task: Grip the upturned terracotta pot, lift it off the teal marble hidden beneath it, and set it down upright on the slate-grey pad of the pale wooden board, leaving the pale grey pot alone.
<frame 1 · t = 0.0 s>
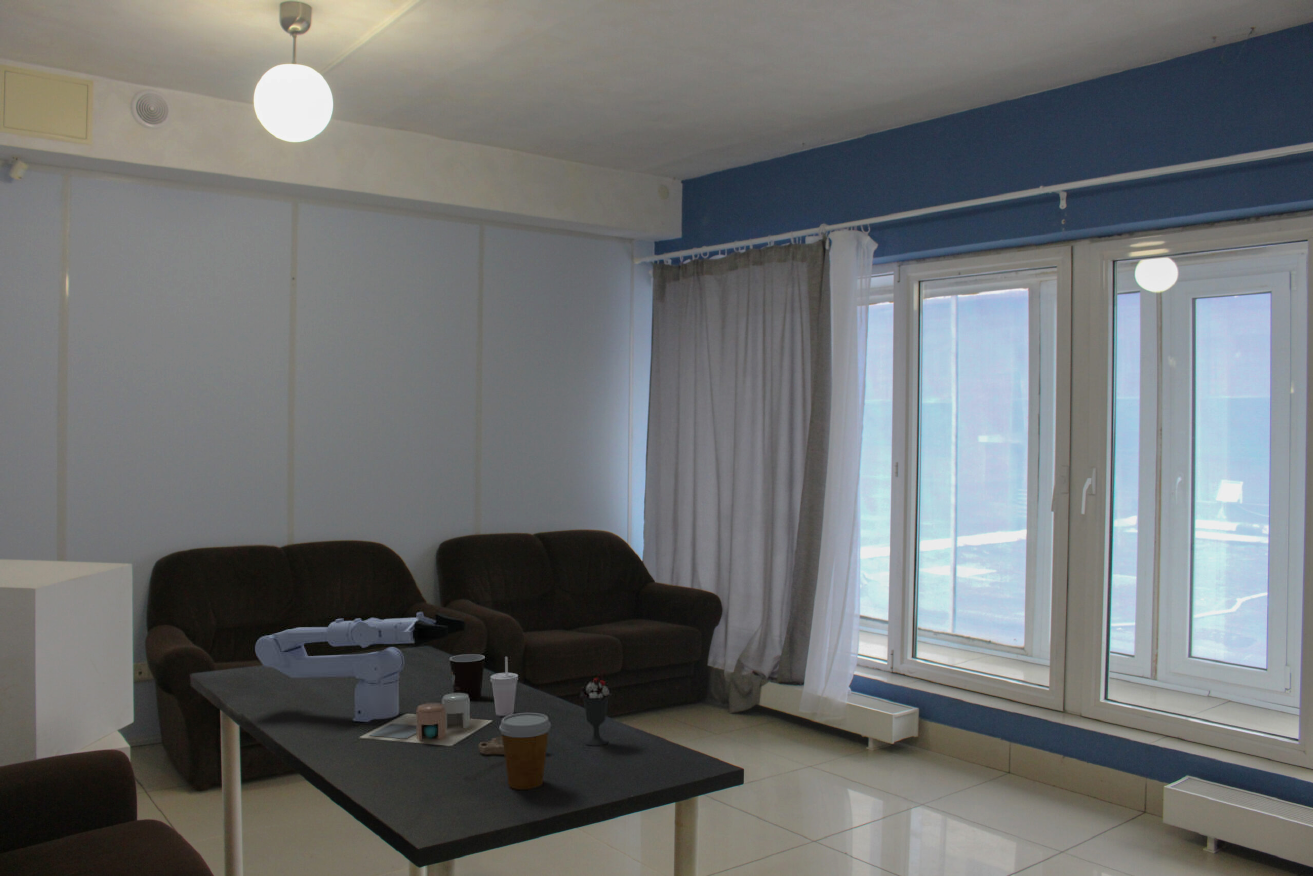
hand: (456, 628, 221), 22 cm above the table, tool horizontal, fingers open, 7 cm apart
marble: (431, 730, 208), point 2 cm above the table, touching board
smoothie: (504, 718, 226), on the table
disposable coffee cup: (525, 784, 182), on the table
grey pot: (456, 726, 216), point 1 cm above the table, touching board
board: (427, 733, 214), on the table
oil lamp: (511, 756, 199), on the table
terracotta pot: (431, 737, 208), point 1 cm above the table, touching board
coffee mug: (469, 697, 245), on the table
sundae: (596, 743, 207), on the table
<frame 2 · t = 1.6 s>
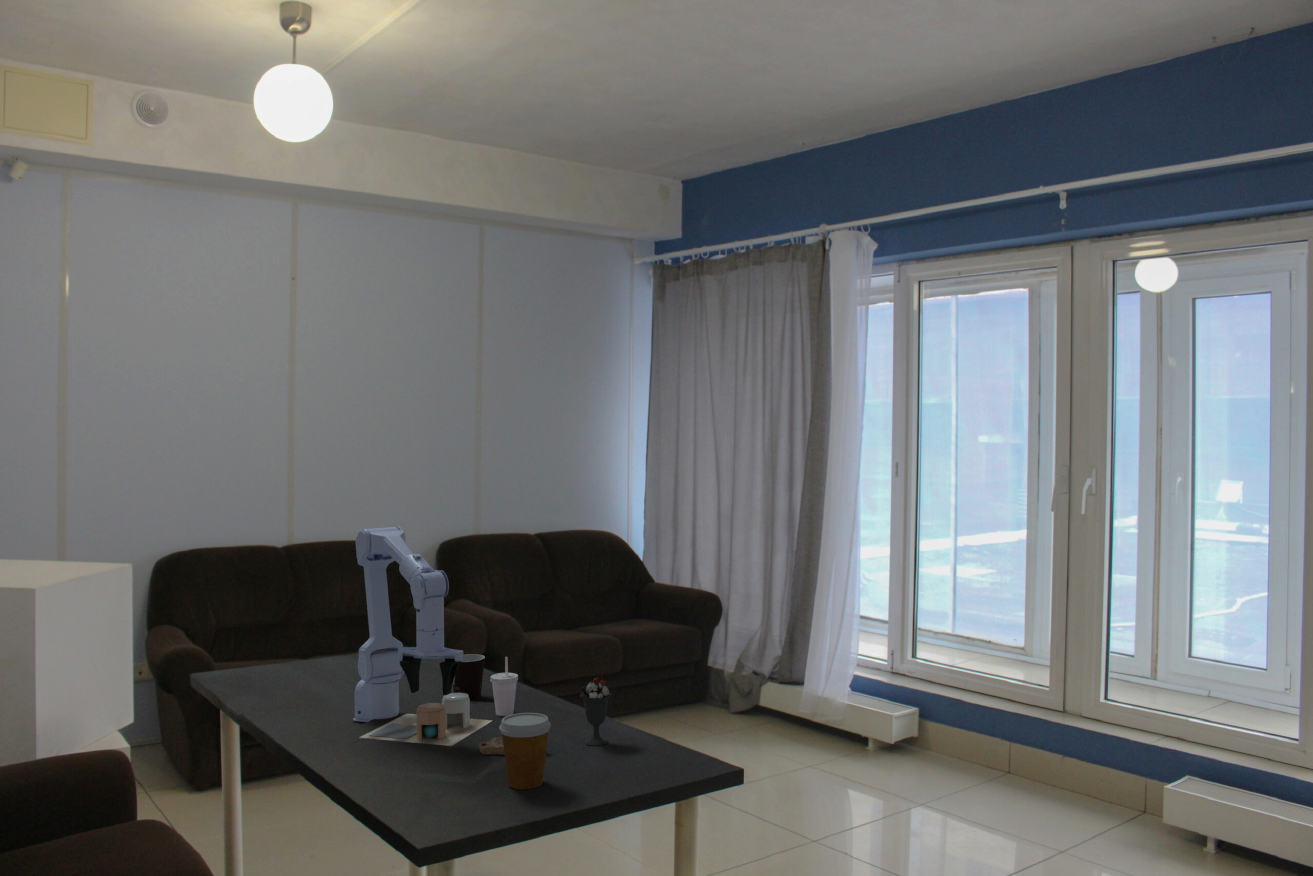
hand: (430, 693, 208), 10 cm above the table, tool pointing down, fingers open, 7 cm apart
nothing on the table moved.
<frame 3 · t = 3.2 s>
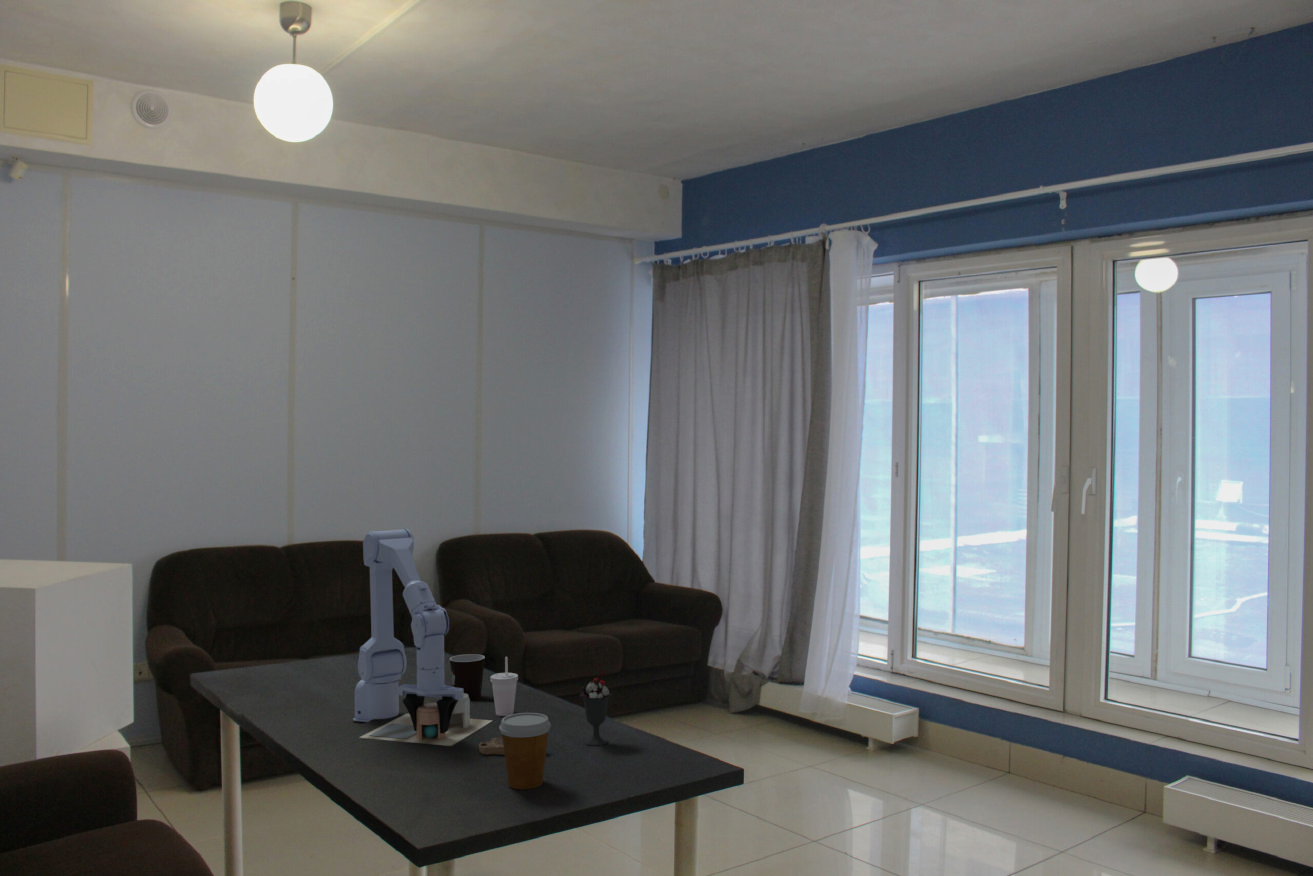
hand: (431, 730, 208), 2 cm above the table, tool pointing down, fingers closed on terracotta pot, 6 cm apart
terracotta pot: (431, 737, 208), point 1 cm above the table, touching board, gripper
everything else where it was.
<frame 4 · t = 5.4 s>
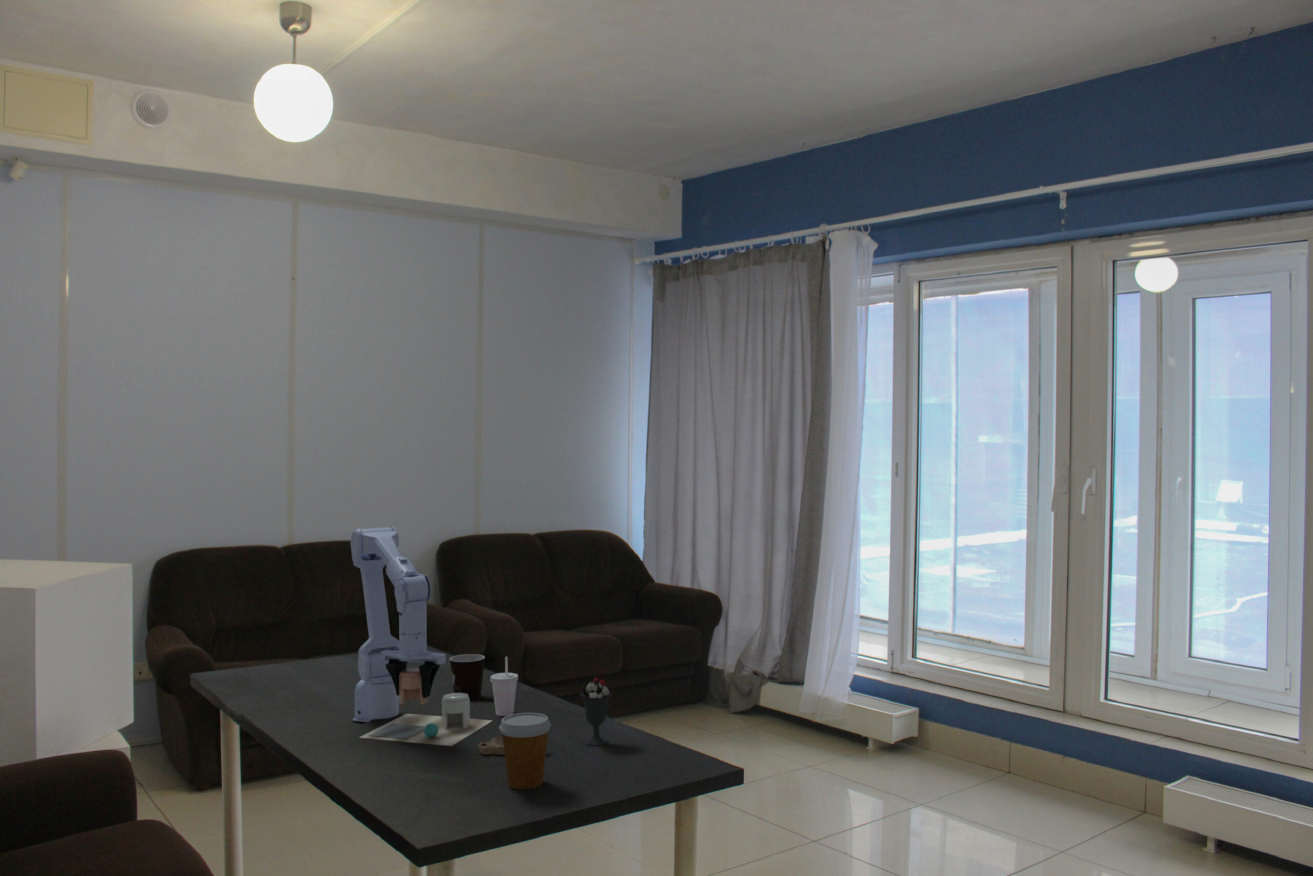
hand: (413, 695, 211), 9 cm above the table, tool pointing down, fingers closed on terracotta pot, 6 cm apart
terracotta pot: (413, 702, 210), point 8 cm above the table, touching gripper
everything else where it was.
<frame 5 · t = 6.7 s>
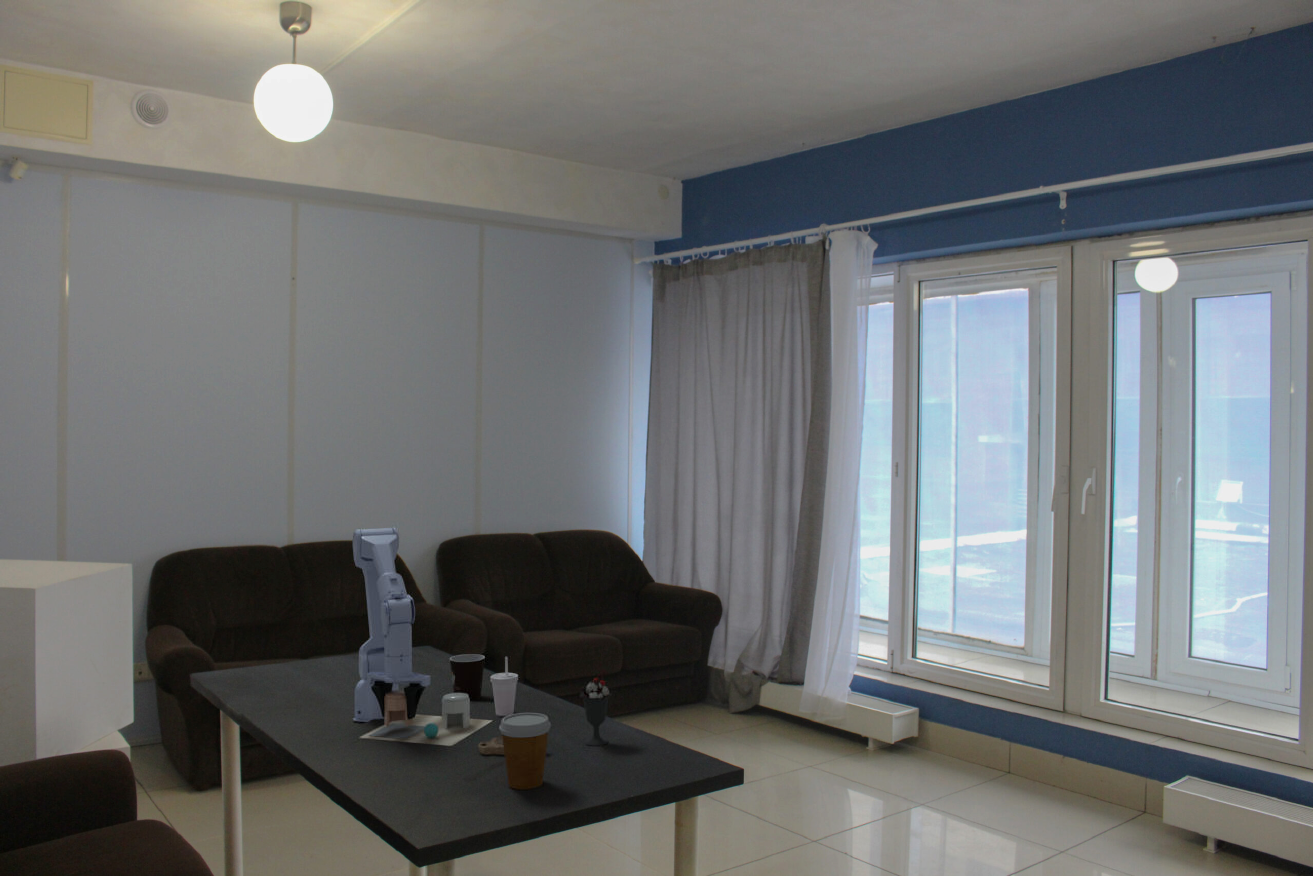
hand: (398, 717, 212), 4 cm above the table, tool pointing down, fingers closed on terracotta pot, 6 cm apart
terracotta pot: (398, 723, 212), point 3 cm above the table, touching gripper
everything else where it was.
when the fingers open (4 cm above the table, at t = 7.6 s): terracotta pot drops 2 cm, resting on board.
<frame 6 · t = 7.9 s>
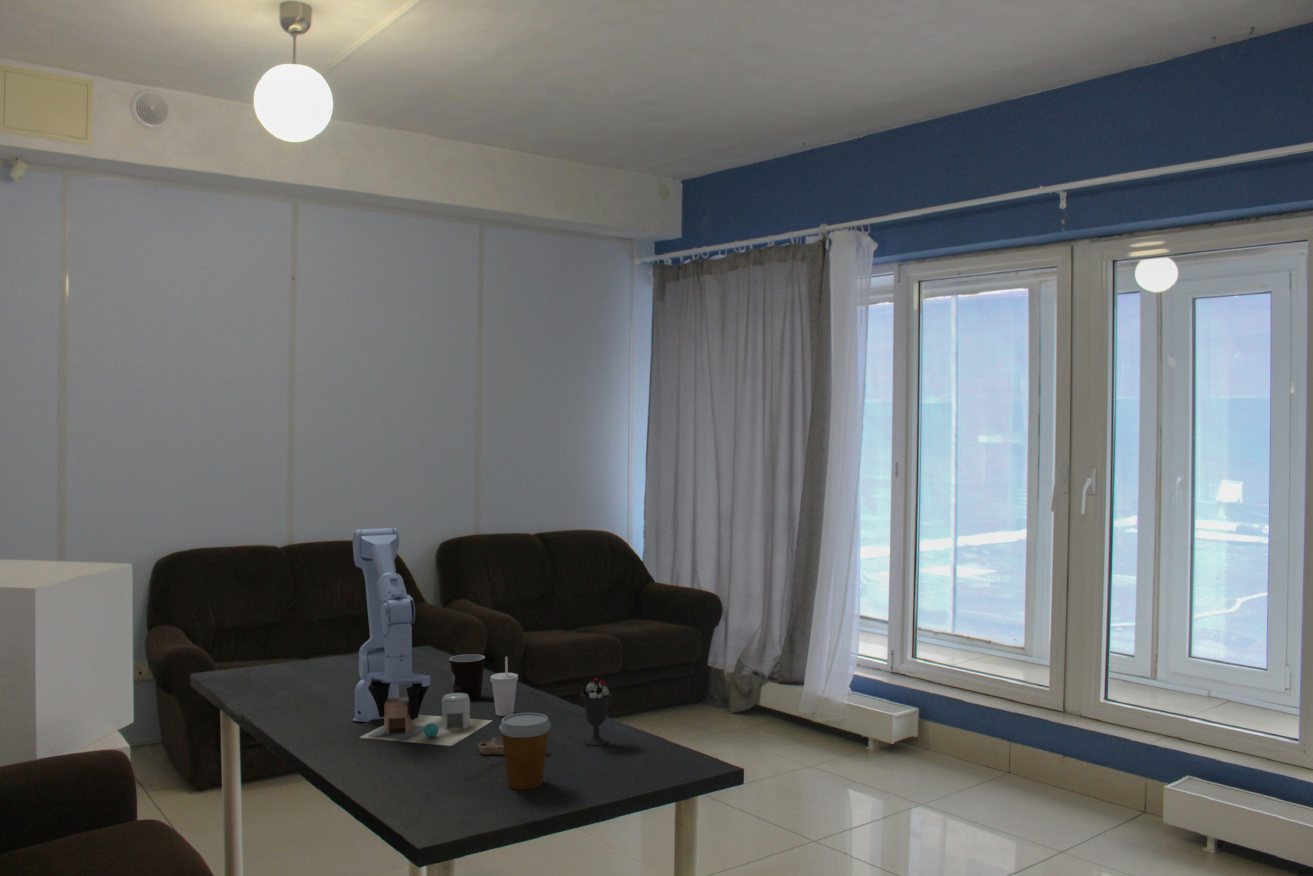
hand: (398, 717, 212), 4 cm above the table, tool pointing down, fingers open, 7 cm apart
terracotta pot: (398, 731, 212), point 1 cm above the table, touching board
everything else where it was.
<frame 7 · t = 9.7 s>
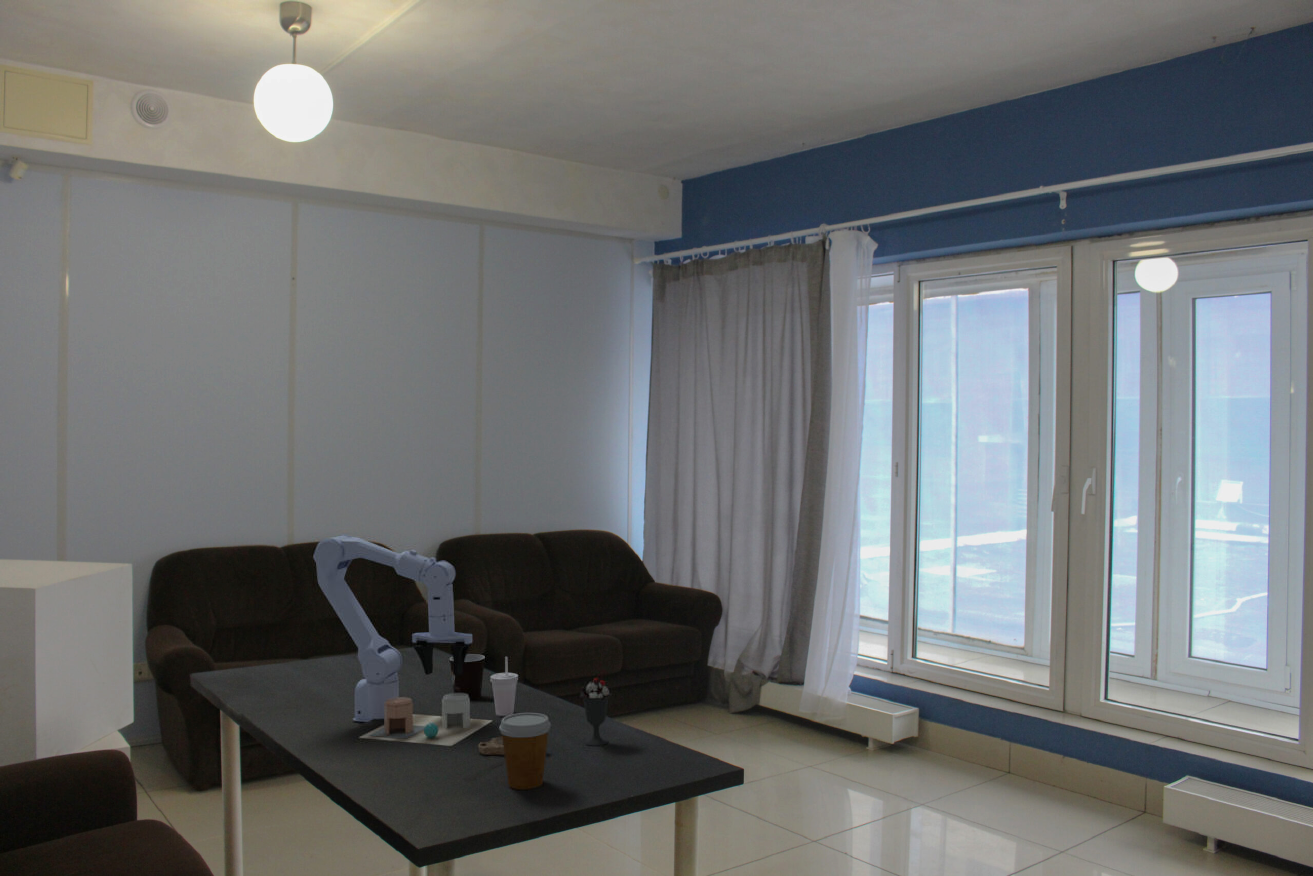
hand: (443, 674, 225), 10 cm above the table, tool pointing down, fingers open, 7 cm apart
nothing on the table moved.
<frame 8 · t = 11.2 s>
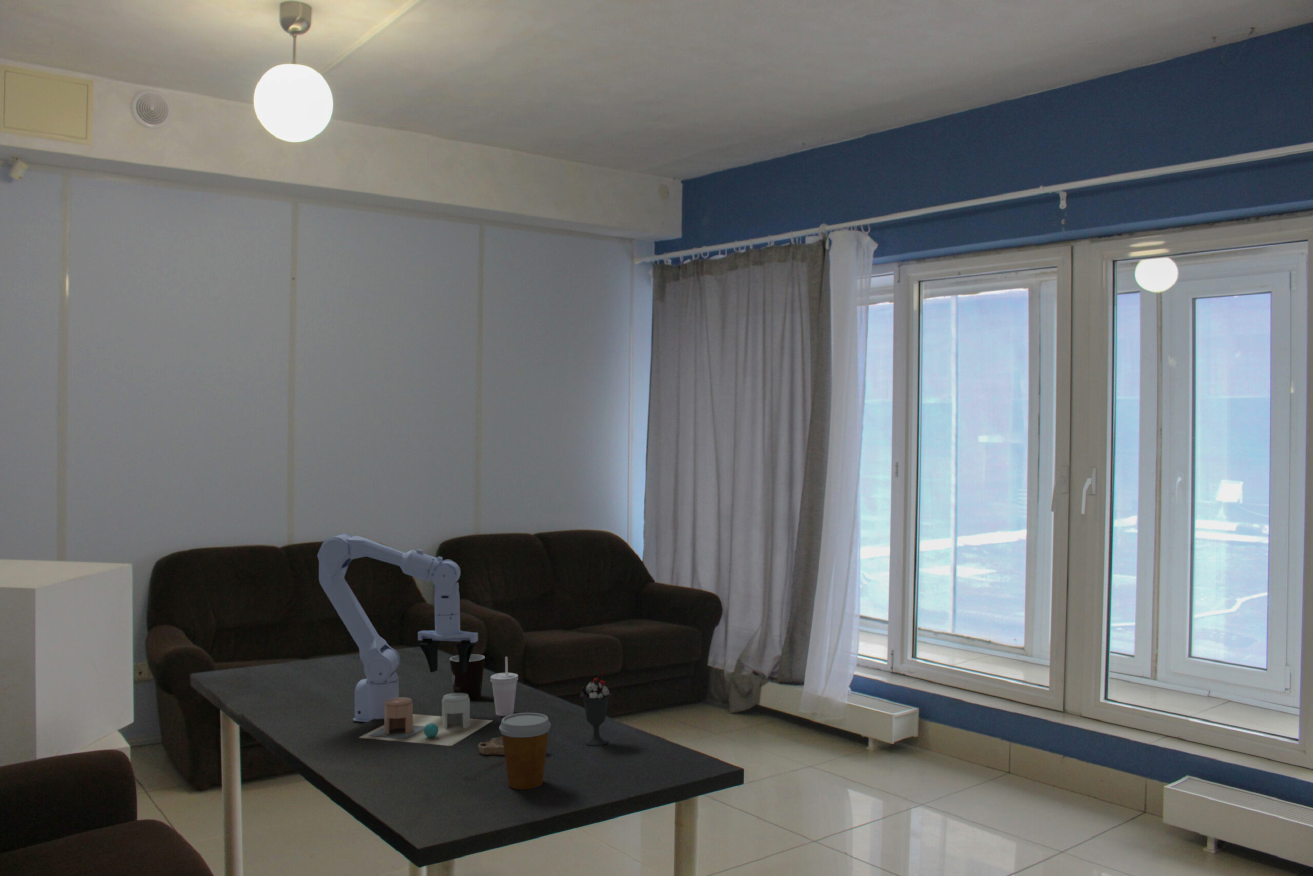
hand: (448, 672, 227), 10 cm above the table, tool pointing down, fingers open, 7 cm apart
nothing on the table moved.
at the end: terracotta pot inside the target area (0.1 cm from its centre), point 1.1 cm above the table; terracotta pot tilted 0°; marble moved 0.0 cm from its start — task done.
